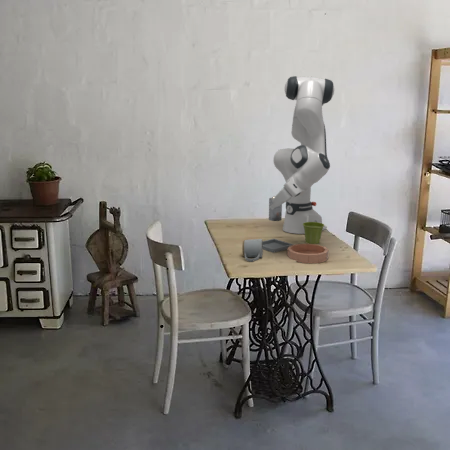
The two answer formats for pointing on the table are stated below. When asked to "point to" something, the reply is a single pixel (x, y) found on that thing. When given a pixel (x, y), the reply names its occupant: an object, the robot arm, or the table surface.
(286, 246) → the parts tray
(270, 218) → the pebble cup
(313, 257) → the terracotta bowl
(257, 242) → the ceramic mug
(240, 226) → the table surface
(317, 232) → the plant pot
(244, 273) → the table surface
